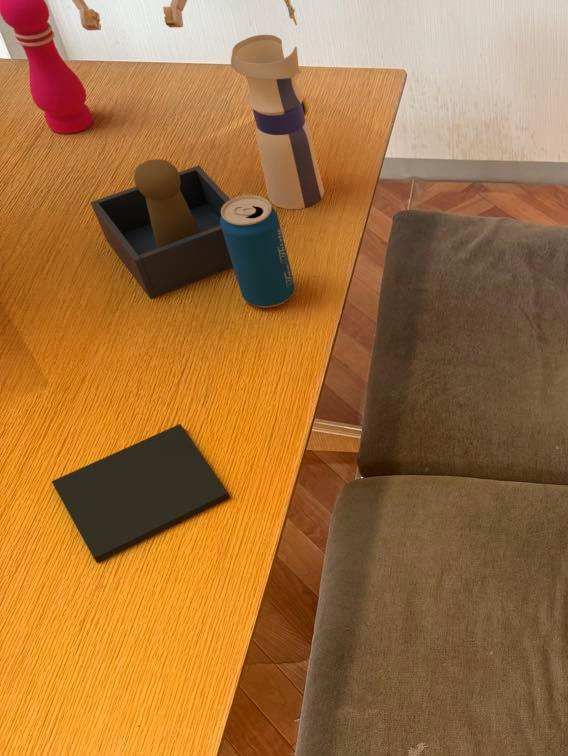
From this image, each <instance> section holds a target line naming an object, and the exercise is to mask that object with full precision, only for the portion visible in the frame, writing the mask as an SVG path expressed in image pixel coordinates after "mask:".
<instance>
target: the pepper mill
mask: <svg viewBox="0 0 568 756" xmlns="http://www.w3.org/2000/svg"><path fill="white" fill-rule="evenodd" d="M0 16H1V18H2V20H3V21H4V22H5V24H6V25H8V26H9V27H10V28H12V35H13V36H14V37H15V41H16V43H17V44H19V45H20V46H21V47H22V48H23V51H24V52H25V56H26V58H27V63H28V69H29V71H28V72H29V91H30V94H31V98H32V101H33V103H34V104H35V106H36V107H37V108H39V109H40V110H41V111H42V112H44V119H45V121H46V124H47V127H48V128H49V129H50V130H51V131H52V132H55V133H57V134H60V135H61V134H63V135H68V134H69V135H70V134H74V133H79V132H81V131H85V130H86V129H88V128H89V127H90V126H91V125H92V123H93V121H94V120H93V116H92V113H91V111H90V108H89V106H88V105H87V104H85V103H86V99H87V92H86V89H85V86H84V84H83V83H82V81H81V79H80V77H78V75H77V74H76V73H75V72H74V71H73V70H72V69H71V68H70V66H68V64H66V62H65V60H63V58H62V56H61V55H60V53H59V50H58V48H57V47H56V43H55V41H54V38H55V32H54V31H53V27H52V25H51V24H50V23H49V22H48V21H49V18H50V10H49V5H48V4H47V3H46V0H0Z"/></svg>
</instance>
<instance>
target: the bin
mask: <svg viewBox="0 0 568 756" xmlns="http://www.w3.org/2000/svg"><path fill="white" fill-rule="evenodd" d="M178 173H179V176H180V182H181V185H180V188H179V189H180V191H181V193H182V195H183V197H184V199H185V201H186V203H187V205H188V207H189V209H190V212H191V214H192V216H193V218H194V220H195V222H196V224H197V226H198V228H199V230H200V232H201V233H198V234H195V235H192V236H190V237H187V238H184V239H182V240H179V241H176V242H173V243H171V244H168V245H165V246H163V247H160V248H157V247H156V243H155V238H154V234H153V229H152V225H151V220H150V216H149V211H148V207H147V202H146V198H145V196H144V195H143V194H142V193H141V192H140V191H139V190H138V188H137V186H136V185H135V186H133V187H130V188H127V189H125V190H122V191H119V192H116V193H112V194H110V195H108V196H104V197H100V198H99V199H95V200H93V201H90V206H91V207H92V210H93V212H94V215H95V217H96V219H97V221H98V224H99V226H100V229H101V231H102V234H103V235H104V238H105V240H106V242H107V243H108V244H109V246H110V247H111V249H112V250H113V252H115V254H116V255H117V256H118V258H119V259H120V260H121V262H122V263H123V264H124V266H125V268H127V270H128V271H129V273H130V274H131V275H132V277H133V278H134V279H135V280H136V282H137V283H138V285H139V286H140V287H141V289H142V290H143V291H144V292H145V294H146V295H147V297H148V298H149V299H150V300H152V299H154V298H156V297H159V296H161V295H164V294H167V293H170V292H171V291H174V290H177V289H180V288H182V287H185V286H187V285H190V284H193V283H195V282H197V281H201V280H203V279H205V278H207V277H211V276H213V275H215V274H216V275H217V274H218V273H220V272H224V271H226V270H228V269H231V268H233V264H232V261H231V258H230V255H229V251H228V248H227V245H226V241H225V238H224V235H223V232H222V228H221V225H220V218H221V209H222V207H223V205H224V204H225V203H226V202H228V201H229V200H231V199H230V197H229V196H228V195H227V194H226V193H225V192H224V191H223V190H222V189H221V188H220V186H219V185H218V184H217V183H216V182H215V181H214V180H213V179H212V178H211V176H210V175H208V173H207V172H206V171H205V170H204V169H203V168H202V166H200V165H199V164H198V165H194V166H193V167H190V168H187V169H184V170H181V171H178Z"/></svg>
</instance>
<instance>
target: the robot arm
mask: <svg viewBox="0 0 568 756" xmlns="http://www.w3.org/2000/svg"><path fill="white" fill-rule="evenodd" d="M71 1H72V2H73V4H74V5H75V7H76V8H77V10H78V11H79V18H80V24H81V26H82V28H83V29H84V30H86V31H101V30H102V24H101V23H100V21H101V18H100V13H98V12H97V11H95V10H94V9H93V8H89V6H88V5H87V3H86V1H85V0H71ZM187 2H188V0H171V2H170V5H167V6H166V5H165V6H162V10H163V14H164V17H163V19H164V23H165V25H166V26H168V28H183V27H184V20H183V11H184V9H185V7H186V4H187Z"/></svg>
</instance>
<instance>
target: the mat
mask: <svg viewBox="0 0 568 756" xmlns="http://www.w3.org/2000/svg"><path fill="white" fill-rule="evenodd" d="M51 483H52V485H53V487H54V489H55V490H56V493H57V494H58V496H59V498H60V499H61V501H62V503H63V505H64V507H65V509H66V511H67V513H68V514H69V516H70V518H71V520H72V521H73V523H74V525H75V527H76V529H77V530H78V533H79V534H80V536H81V538H82V540H83V541H84V543H85V545H86V547H87V549H88V551H89V553H90V554H91V556H92V558H93V559H94V562H96V563H100V562H102V561H103V560H106V559H108V558H110V557H112V556H114V555H116V554H118V553H120V552H122V551H125V550H127V549H128V548H131V547H132V546H134V545H136V544H138V543H140V542H143V541H145V540H146V539H149V538H151V537H153V536H155V535H157V534H159V533H161V532H162V531H165V530H167V529H169V528H171V527H173V526H175V525H178V524H179V523H181V522H184V521H186V520H187V519H189V518H191V517H193V516H195V515H197V514H199V513H201V512H204V511H206V510H208V509H210V508H212V507H214V506H216V505H218V504H219V503H222V502H225V501H226V500H228V499H230V498H231V497H230V494H229V492H228V490H227V489H226V487H225V486H224V485H223V483H222V482H221V480H220V479H219V477H218V476H217V474H216V473H215V472H214V470H213V469H212V467H211V466H210V464H209V463H208V461H207V460H206V458H205V457H204V456H203V454H202V453H201V451H200V449H199V448H198V447H197V446H196V444H195V442H193V440H192V438H191V437H190V434H188V433H187V431H186V429H185V428H184V427H183V426H182V424H181V423H179V424H176V425H174V426H172V427H169V428H168V429H165V430H163V431H161V432H158V433H155V434H154V435H152V436H149V437H147V438H144V439H142V440H141V441H138V442H136V443H134V444H132V445H129V446H127V447H125V448H123V449H121V450H118V451H115V452H114V453H111V454H110V455H109V454H108V455H107V456H105V457H103V458H101V459H98V460H96V461H94V462H91V463H88V464H87V465H85V466H83V467H80V468H78V469H76V470H73V471H71V472H69V473H67V474H65V475H63V476H60V477H58V478H55V479H53V480H51Z"/></svg>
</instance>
